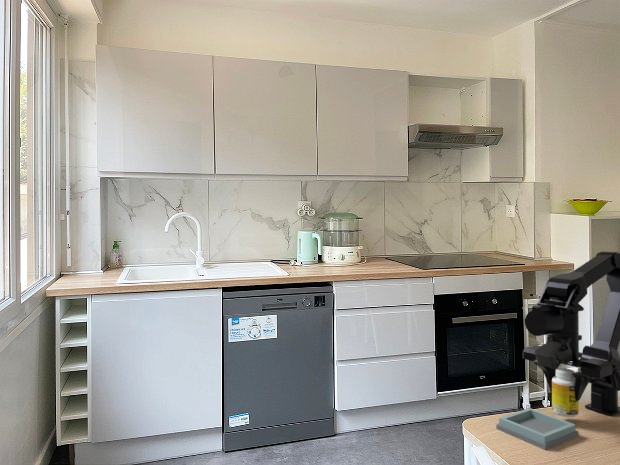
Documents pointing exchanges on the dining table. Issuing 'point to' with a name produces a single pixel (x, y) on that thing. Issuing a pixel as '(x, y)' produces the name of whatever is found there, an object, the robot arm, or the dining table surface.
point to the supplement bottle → (564, 393)
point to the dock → (537, 428)
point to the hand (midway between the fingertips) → (565, 396)
